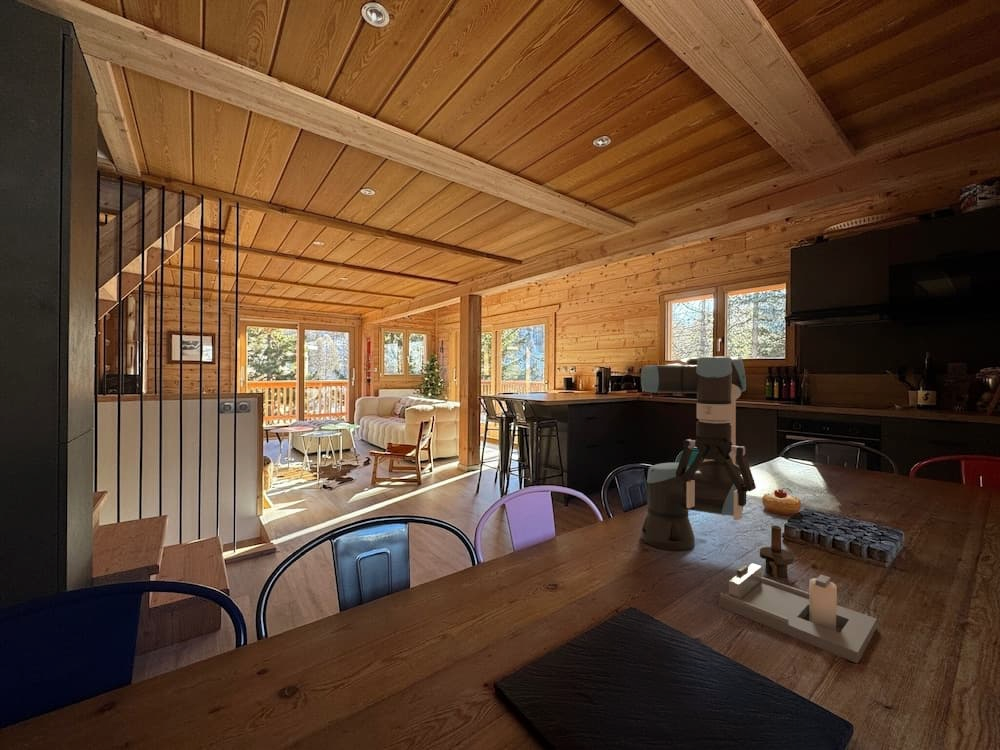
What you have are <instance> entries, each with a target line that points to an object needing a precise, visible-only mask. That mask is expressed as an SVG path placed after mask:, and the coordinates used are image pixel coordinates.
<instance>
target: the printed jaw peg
mask: <svg viewBox="0 0 1000 750" xmlns="http://www.w3.org/2000/svg"><path fill="white" fill-rule="evenodd" d="M808 586H809V587H808V588H809V592H808V593H809V614H808V621H809V622H812V623H814V624H817V625H820V626H822V627H825V628H828V629H830V630H833V631H836V632H837V624H836V605H837V602H838V601H837V597H838V596H837V595H838V594H837V589H838V586H837V585H836V584H835V583H834V582H832V581H831V577H830V576H827V575H824V574H820V575H819V576H818V577H817V578H816V577H813V578H810V579H809V584H808Z"/></svg>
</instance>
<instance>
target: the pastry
mask: <svg viewBox="0 0 1000 750" xmlns="http://www.w3.org/2000/svg"><path fill="white" fill-rule="evenodd" d="M784 489H787V490H788V491H789V492H791V494H793V492H792V490H791V489H790V488H789V487H783V488H782V489H775V490H774V491H773V492H772V493H765V494H764V495H762V499H761V500H762V505H763V507H764V508H765V510H766V511H768V512H770V513H773V514H778V515H782V516H783V515H785V516H796V515H797V514H798V513H799V512H800V511H801V507H802V501H801V499H800V498H798V497H795V496H793V495H790V494H787V492H786V491H785V490H784ZM795 514H796V515H795Z"/></svg>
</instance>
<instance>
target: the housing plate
mask: <svg viewBox="0 0 1000 750" xmlns="http://www.w3.org/2000/svg"><path fill="white" fill-rule="evenodd" d="M718 607H720V608H721V609H724V610H726V611H729V612H732V613H734V614H737V615H738V616H741V617H744V618H745V619H746V618H747V619H748V620H751V621H754V622H756V623H758V624H760V625H763V626H765V627H768V628H770V629H773V630H775V631H778V632H780V633H782V634H785V635H787V636H790V637H792V638H795V639H798V640H800V641H802V642H804V643H807V644H809V645H811V646H814V647H816V648H818V649H822V650H824V651H826V652H829V653H830V654H833V655H836V656H837V657H841V658H843V659H845V660H848V661H850V662H853V663H854V664H859V663H860V660H861V658H862V656H864V655H863V654H864V652H865V651H866V649H867V648H868V646H869V643H870V641H871V639H872V638H873V636H874V634H875V632H876V631H877V629H878V627H877V625H878V623H877V622H878V619H877V618H876V617H873V616H869V615H867V614H864V613H862V612H859V611H855V610H852V609H849V608H847V607H845V606H841V605H838V604H836V626H839V627H842V629H841V631H840V632H837V630H836V631H833V630H830V629H828V628H825V627H822V626H820V625H817V624H814V623H812V622H809V620H808V619H807V620H806V619H805V618H806V617H807V616H808V615H809V592H807V591H805V590H802V589H799V588H796V587H793V586H791V585H787V584H784V583H782V582H779V581H775V580H773V579H769V578H766V577H764V576H762V581H761V582H760V583H758V584H757V585H756V586H755V587H754V588H753V589H751V590H750V591H749V592H748V593H747V594H745V595H744V596H743V597H742V598H741V599H737V598H734V597H732V596H729V589H728V590H726V591H725V592H724V593H723V592H722V591H720V592H719V597H718Z"/></svg>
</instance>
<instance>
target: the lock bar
mask: <svg viewBox="0 0 1000 750" xmlns="http://www.w3.org/2000/svg"><path fill="white" fill-rule="evenodd" d="M762 574H763V572H762V565H760V564H759V565H758V564H755V563H750V564H749V565H746V564H743V565H742V566H740V567H739V568H738V569H736V575H735V576H734V577H732V578H731V579H729V580H728V590H729V596H732V597H734V598H737V599H741V598H742V597H743V596H744V595H745V594H747V593H748V592H749V591H750V590H751V589H753V588H754V587H755V586H756V585H757V584H758V583H760V582H761V581H762V577H763V576H762Z"/></svg>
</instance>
